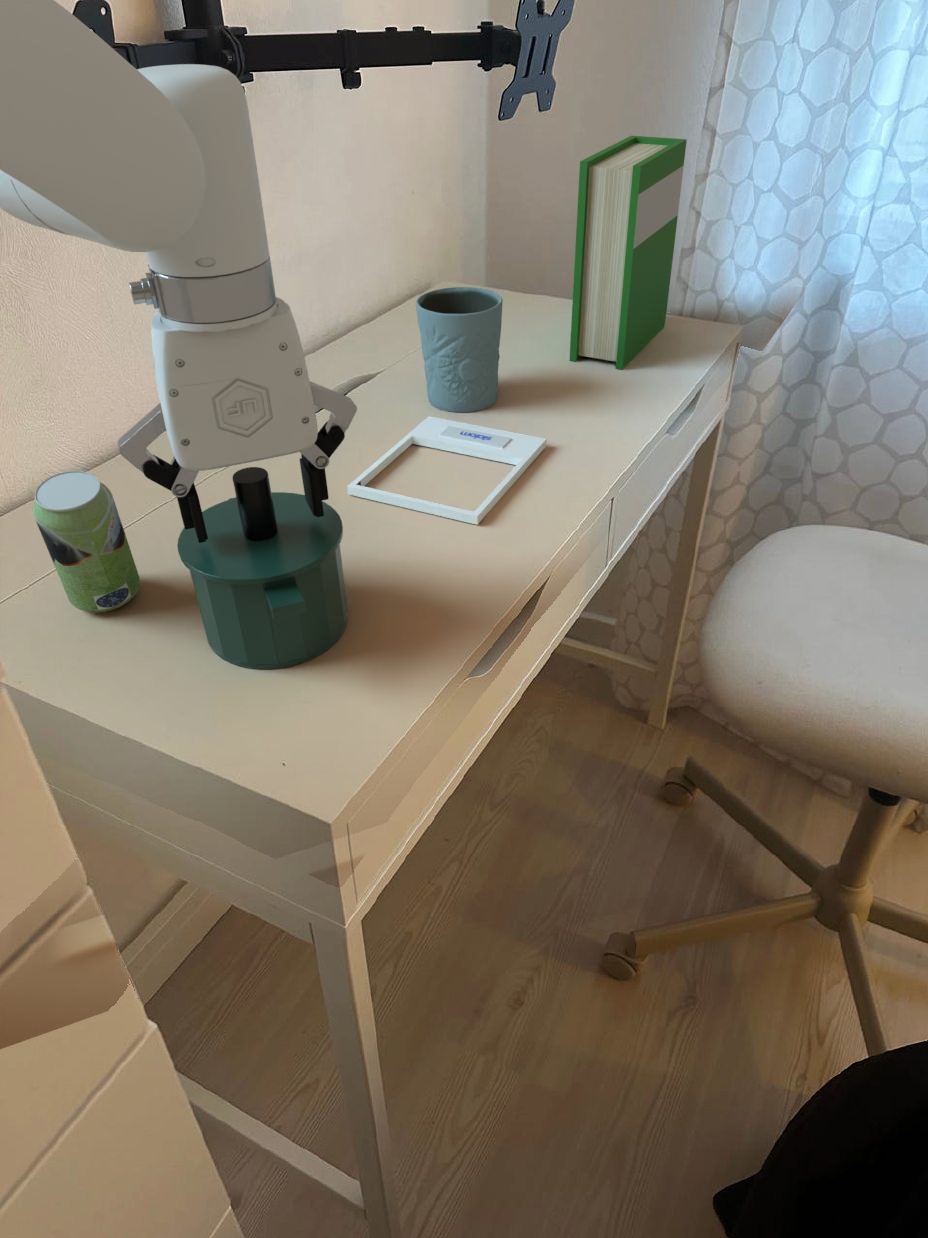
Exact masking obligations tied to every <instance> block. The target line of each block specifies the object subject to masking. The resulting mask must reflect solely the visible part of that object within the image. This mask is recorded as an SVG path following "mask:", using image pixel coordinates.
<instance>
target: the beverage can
mask: <svg viewBox="0 0 928 1238" xmlns="http://www.w3.org/2000/svg"><path fill="white" fill-rule="evenodd" d="M34 491H35V492H34V501H33V503H32V515H33V517H34V520H35V523H36V525H37V527H38V530H39V532H40V534H41V537H42V539H43V542H44V544H45V547H46V549H47V551H48V554H49V556H50V559H51V560H52V563H53V565H54V568H55V570H56V573H57V576H58V577H59V580H60V582H61V585H62V586H63V589H64V591H65V594H66V597H67V599H68V601H69V603H70V604H71V605H72V606H73V607H75V608H76V609H77V610H80V611H82V612H86V613H105V612H110V611H114V610H116V609H118V608H120V607H122V606H124V605H126V604H128V603H129V602H130V601H131V600H132V599H133V598H134V597H135V596H136V595H137V593H138V591H139V589H140V586H141V578H140V575H139V572H138V569H137V566H136V562H135V559H134V557H133V554H132V550H131V547H130V545H129V541H128V538H127V535H126V532H125V529H124V526H123V523H122V520H121V517H120V513H119V511H118V508H117V504H116V502H115V499H114V495H113V494H112V492H111V489H109V488H108V486H107V485H106V484H104V483H103V482H101V481H100V479H99V478H98V477H97V476H96V475H94V474H93V473H90V472H87V471H83V470H70V471H63V472H59V473H56V474H54V475H51V476H49V477H47V478H45V479H44V480H43V481H42V482H41V483H40V484H39V485H38V486H37V487H36V489H35V490H34Z"/></svg>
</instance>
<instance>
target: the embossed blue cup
mask: <svg viewBox="0 0 928 1238" xmlns="http://www.w3.org/2000/svg"><path fill="white" fill-rule="evenodd" d="M503 301H504V300H503V297H502V296H501V295H500V294H498V293H497V292H495V291H494V290H491V289H487V288H482V287H472V286H455V287H454V286H453V287H446V288H444V287H443V288H439V289H434V290H430V291H427V292H425V293H423V294H421V295H419V296H418V297H417V298H416V299H415V303H414V304H415V310H416V317H417V324H418V328H419V334H420V335H419V336H420V341H421V342H420V344H421V351H422V358H423V362H424V365H423V367H424V372H425V381H426V392H427V398H428V402H429V403H430V405H431V406H433V407H434V408H436V409H438V410H440V411H444V412H450V413H473V412H478V411H482V410H485V409H487V408H490V407H492V406H493V405H494V404H495V403H496V401H497V399H498V394H499V361H500V342H501V335H502V322H503V321H502V319H503V315H502V314H503Z"/></svg>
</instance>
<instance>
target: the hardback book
mask: <svg viewBox="0 0 928 1238" xmlns="http://www.w3.org/2000/svg"><path fill="white" fill-rule="evenodd" d="M687 142H688V139H687V138H673V137H659V136H658V137H657V136H642V135H630V136H627V137H625V138H624V139H621V140H620V141H617V142H616V143H614V144H612V145H610V146H608V147H606V148H604V149H602V150H600V151H598V152H596V153H594V154H592V155H590V156H587V157H586V158H584V159H582V160H580V161H579V173H578V175H579V176H578V194H577V209H576V210H577V211H576V231H575V246H574V247H575V249H574V266H573V268H574V269H573V284H572V285H573V286H572V287H573V289H572V305H571V322H570V323H571V325H570V342H569V343H570V344H569V361H570V362H577V361H578V360H580V359H581V358H582V357H586V358H587V357H588V358H592V359H597V360H603V361H610V362H615V369H616V370H624V369H625V368H626V367H627V366H628V365H629V364H630V363H631V362H632V360H634V359H635V357H637V355H638V354H639V353H641V351H642V350H644V348H645V347H646V346H647V345H648V344H649V343H650V342H651V341H653V339H654V338H655V337H656V336H657V335H658V334H659V333H660V332H661V331H662V330H663V329H664V328H665V327H666V319H667V312H668V311H667V310H668V302H669V295H670V285H671V279H672V278H671V277H672V268H673V260H674V250H675V243H676V236H677V235H676V233H677V228H678V227H677V226H678V218H679V208H680V200H681V192H682V183H683V174H684V167H685V158H686V151H687V150H686V149H687Z"/></svg>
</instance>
